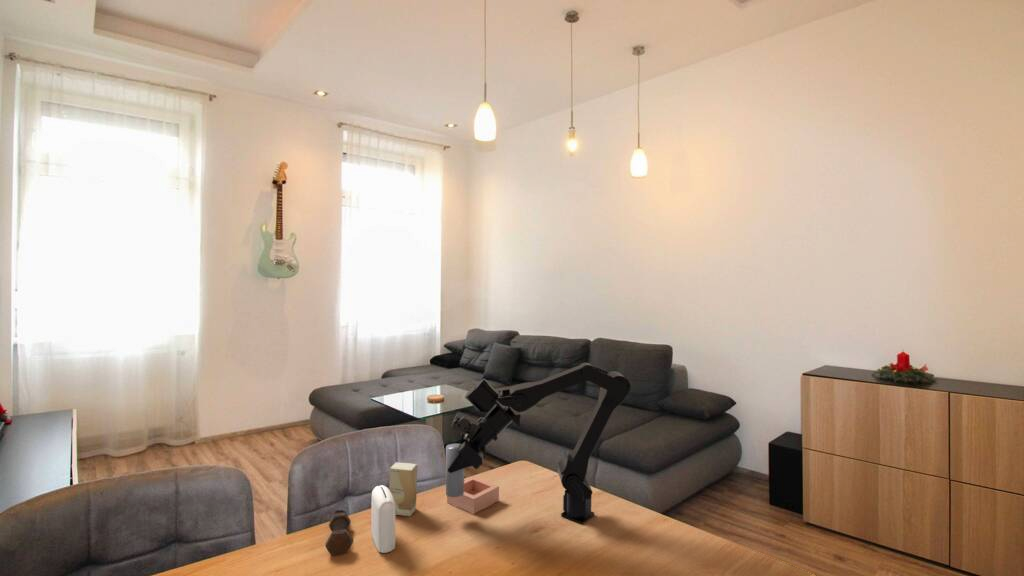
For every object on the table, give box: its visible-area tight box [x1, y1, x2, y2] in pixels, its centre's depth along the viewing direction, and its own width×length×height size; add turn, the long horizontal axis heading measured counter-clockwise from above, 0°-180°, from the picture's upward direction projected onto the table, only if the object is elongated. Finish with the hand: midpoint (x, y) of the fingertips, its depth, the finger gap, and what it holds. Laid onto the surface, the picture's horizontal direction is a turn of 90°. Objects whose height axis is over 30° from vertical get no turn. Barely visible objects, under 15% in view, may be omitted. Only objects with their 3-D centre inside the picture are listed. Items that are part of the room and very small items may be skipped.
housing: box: [446, 476, 500, 515], centre depth 134 cm, size 10×10×4 cm
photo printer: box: [371, 484, 396, 554], centre depth 113 cm, size 10×4×12 cm, turn 26°
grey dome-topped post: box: [445, 443, 465, 497], centre depth 125 cm, size 5×5×12 cm
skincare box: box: [388, 461, 418, 517], centre depth 128 cm, size 6×4×12 cm
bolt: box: [325, 509, 354, 557], centre depth 115 cm, size 6×5×15 cm
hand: (449, 467), depth 125 cm, fingers closed on grey dome-topped post, 5 cm apart
